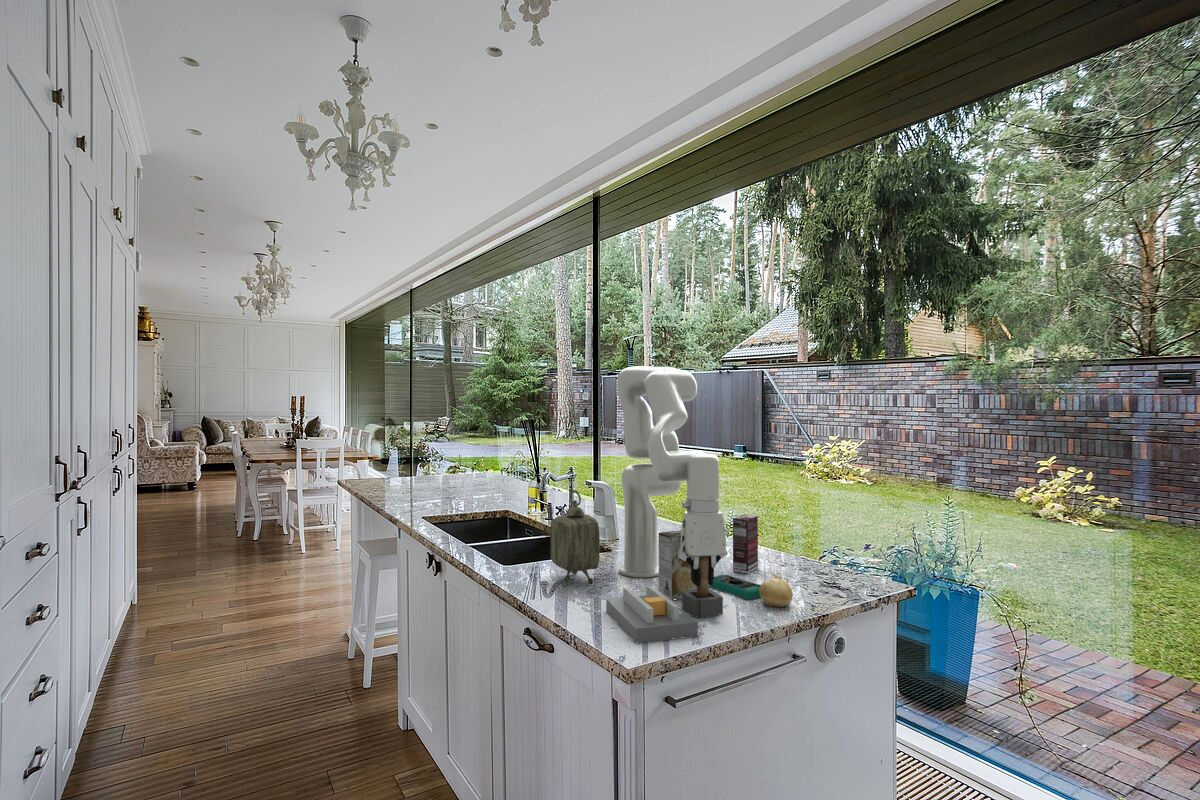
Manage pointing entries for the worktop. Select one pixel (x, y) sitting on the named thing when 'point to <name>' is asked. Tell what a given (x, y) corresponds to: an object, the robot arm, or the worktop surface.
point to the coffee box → (673, 567)
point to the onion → (776, 592)
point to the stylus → (703, 577)
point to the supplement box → (745, 543)
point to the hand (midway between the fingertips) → (702, 583)
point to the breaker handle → (656, 605)
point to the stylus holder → (702, 604)
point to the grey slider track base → (650, 617)
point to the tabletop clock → (575, 541)
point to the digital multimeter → (736, 586)
